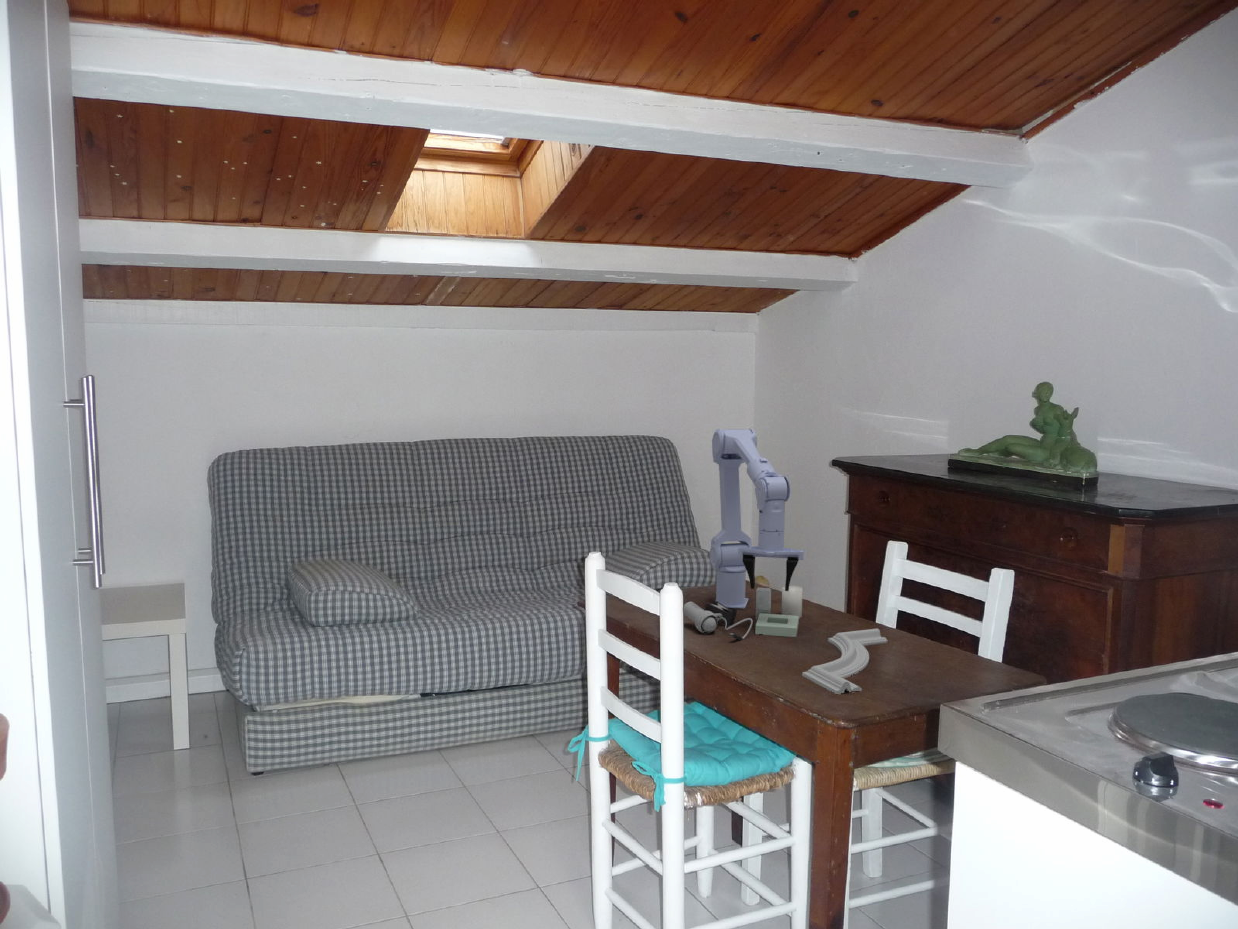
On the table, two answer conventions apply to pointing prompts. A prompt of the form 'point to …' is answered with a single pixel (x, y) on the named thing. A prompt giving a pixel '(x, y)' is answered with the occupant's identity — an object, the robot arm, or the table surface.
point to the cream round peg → (792, 601)
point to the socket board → (777, 625)
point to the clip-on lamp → (713, 617)
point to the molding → (845, 660)
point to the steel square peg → (763, 601)
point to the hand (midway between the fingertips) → (769, 589)
